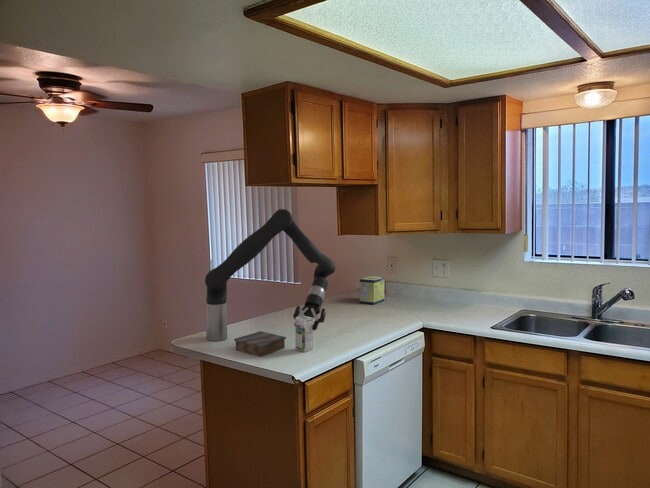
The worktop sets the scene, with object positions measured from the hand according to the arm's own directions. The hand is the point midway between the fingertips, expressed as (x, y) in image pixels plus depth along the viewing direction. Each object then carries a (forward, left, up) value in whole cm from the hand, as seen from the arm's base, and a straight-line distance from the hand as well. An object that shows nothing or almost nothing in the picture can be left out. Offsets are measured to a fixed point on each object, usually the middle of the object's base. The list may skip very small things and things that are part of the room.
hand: (304, 328), depth 212 cm
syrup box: (0, -1, -9) cm, 10 cm away
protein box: (-31, +102, -10) cm, 107 cm away
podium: (-16, -12, -9) cm, 22 cm away
